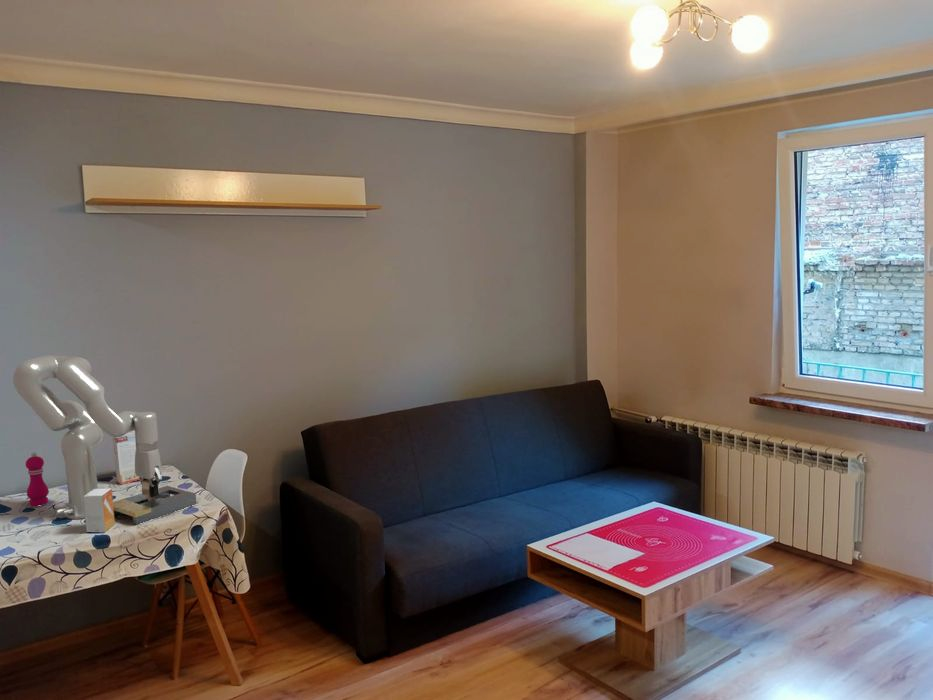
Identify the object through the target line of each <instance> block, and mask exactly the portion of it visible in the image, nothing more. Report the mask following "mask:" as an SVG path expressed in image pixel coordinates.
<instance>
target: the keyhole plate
mask: <svg viewBox="0 0 933 700" xmlns="http://www.w3.org/2000/svg"><path fill="white" fill-rule="evenodd" d="M195 504H197V494H196V493H195V492H192V491H187V490H184V489H181V488H178V487H177V488H176V487H173V486H169V485H165V486H162V487H159V495H158V496H155V500H152V501H148V496H146V495H143V494H142V493H139V494H134V495H132V496H129V497H128V496H127V497H126V498H123V499H119V500H115V501H113V509H114V516H117V515H121V514H125V515H127V516H130V517H132V521H133V526H135V525H137V526H139V525H138V524H140V523H143V522H146V521H149V520H151V519H155V518H158V517H160V516H163V515H166V516H168V515H167V514H169V515H171V514H170V513H172V514H174V513H173V512H175V511H178V510H181V509H184V508H186V507H189V506H192V505H195ZM184 510H185V509H184ZM181 511H182V510H181ZM178 512H179V511H178ZM175 513H176V512H175ZM158 519H159V518H158ZM155 520H156V519H155ZM149 522H150V521H149ZM146 523H147V522H146ZM143 524H144V523H143ZM140 525H141V524H140Z"/></svg>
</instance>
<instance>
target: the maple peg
mask: <svg viewBox="0 0 933 700" xmlns="http://www.w3.org/2000/svg"><path fill="white" fill-rule="evenodd" d="M154 480H155V479H153V481H154ZM149 487H150V480H149V479H148V480H145V481H142V484H141V492H142V491H143V495H146V496H148V501H152V500H155V497H150V489H149ZM158 488H160V484H159V485H158Z"/></svg>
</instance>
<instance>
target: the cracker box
mask: <svg viewBox="0 0 933 700" xmlns="http://www.w3.org/2000/svg"><path fill="white" fill-rule="evenodd" d="M112 443H113V444H112V445H113V446H112V447H113V453H114V454H113V455H114V464H115V473H116V481H118V482H117V483H119V484H120V485H125V484H124V483H126V484H129V483H128V482H130V483H133V482H132V481H135V482H138V481H137V480H139V481H141V480H140V478H139V477H138V476H136V474H135V452H136V442H135V430H133V431H131V432H128V433H127V434H125V435H123V436H121V437H112Z"/></svg>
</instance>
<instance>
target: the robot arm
mask: <svg viewBox="0 0 933 700" xmlns="http://www.w3.org/2000/svg"><path fill="white" fill-rule="evenodd" d="M92 371H93V369H92V365H91V363H90V361H89V360H87V359H86V358H83V357H81V356H80V357H79V356H67V355H64V356H63V355H52V354H51V355H42V356H38V357H35V358H31V359H27V360H24V361H23V362H21V363H20V364H19V365H18V366H17V367H16V368H15V370H14V372H13V378H12V381H13V382H12V383H13V387H14V390H15V391H16V392H17V394H18V395H19V397H21V398H22V399H23V400H24V401H25V403H26V404H27V405H29V407H30V408H31V409H32V410H33V412H34V413H35V414H36V415H37V416H38V417H39V419H40V420H42V422H43V423H44V424H45V425H46V427H47V428H49V430H51V431H53V432H61V431H64V430H66V429H67V430H68V431H67V432H66V433H65V434H64V435H63V436H62V438H61V441H60V450H61V452H62V456H63V460H64V466H65V476H66V485H67V494H68V503H66V504H65V506H64V507H61V508H59V509H55V515H56V516H60V515H64V516H65V518H67V519H71V520H79V519H80V520H82V519H86V518H85V507H84V496H85V495H86V494H88V493H89V492H91V491H92V490H93V489H99V488H98V478H97V477H98V476H97V469H96V462H95V461H96V460H95V458H94V457H95V456H94V455H93V452H92V450H93V449H94V448H95V447H96V448H97V446H99V445H100V444H101V443H102V441H103V439H104V433H105V434H106V435H108V436H110V437H112V438H113V437H121V436H123V435H125V434H127V433H128V432H131V431H133V430H135V442H136V452H135V474H136V476H138V477H139V478H140V480H139V481H140V484H141V485H142V481H145V480H148V479H149V480H150V487H149V489H150V497H155V496H158V495H159V488H160V487H159V488H158V485H159V486H160V482H161V481H162V480H163V477H162V463H161V455H160V451H159V447H160V446H159V436H158V435H159V434H158V433H159V432H158V422H157V419H158V418H157V413H156V412H154V411H153V412H152V411H130V410H124V411H121V412H120V413H116V412H114V411H113V410H112V409H111V408H110V407H109V405H108V404H107V402H106V399H105V387H104V386H103V385H102V384H101V383H100V382H99V381H98V380H97V379H96V378H95V377H94V376H92V375H91V374H92ZM49 379H57V380H58V381H59V382H60V383H61V384H62V385H64V387H66V389H68V390H69V391H70V392H71V393H72V394H73V395H74V396H75V397H76V398H78V400H80V401H81V402H82V403H83V404H84V406H85V407H84V406H83V405H82V404H81V403H79V402H77V401H75V400H71V399H69V400H68V399H67V400H63V401H61V400H60V398H58V396H56V394H55V393H54V392H53V391H52V390H51V389H50V388H48V386H45V385H44V384H43V381H44V382H45V381H46V380H49ZM103 432H104V433H103ZM154 476H155V477H154ZM153 479H155V480H154V481H153ZM141 494H143V491H142V490H141Z"/></svg>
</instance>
